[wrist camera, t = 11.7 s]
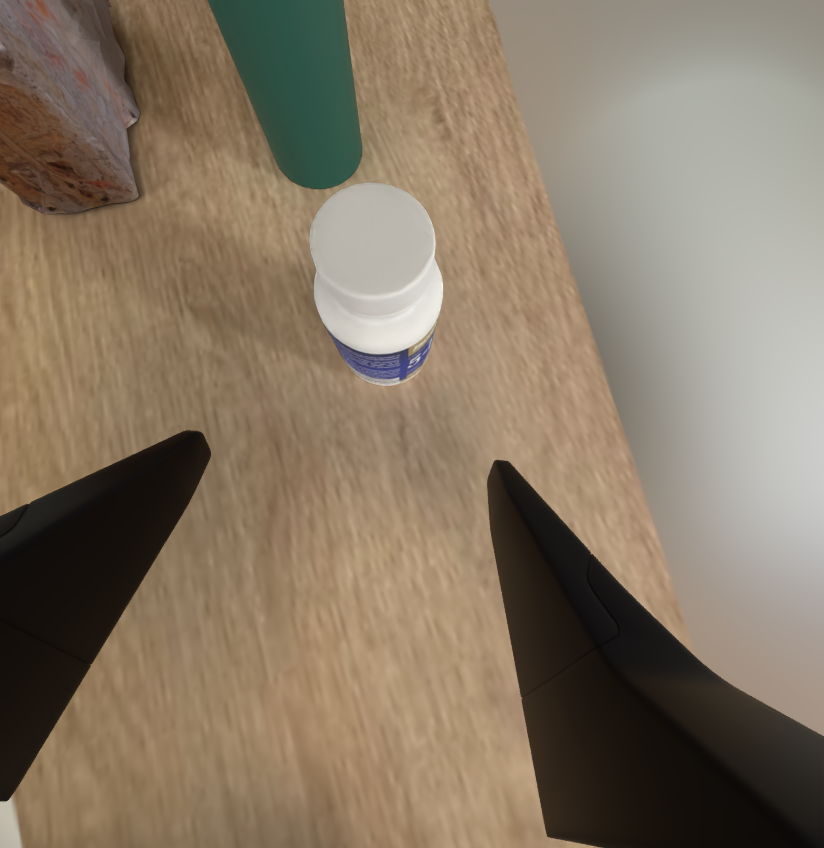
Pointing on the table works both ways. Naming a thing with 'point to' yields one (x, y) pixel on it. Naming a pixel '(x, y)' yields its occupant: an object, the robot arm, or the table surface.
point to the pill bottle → (377, 280)
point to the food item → (64, 106)
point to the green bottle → (298, 83)
